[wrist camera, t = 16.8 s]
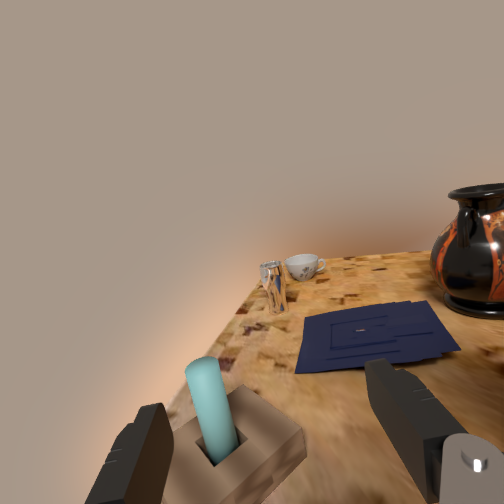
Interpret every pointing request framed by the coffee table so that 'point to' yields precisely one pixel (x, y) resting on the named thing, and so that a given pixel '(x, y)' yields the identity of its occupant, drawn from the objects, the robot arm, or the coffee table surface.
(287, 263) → the teacup
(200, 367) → the teal pin
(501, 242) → the amphora vase
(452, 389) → the coffee table surface
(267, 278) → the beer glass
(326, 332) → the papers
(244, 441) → the walnut block
